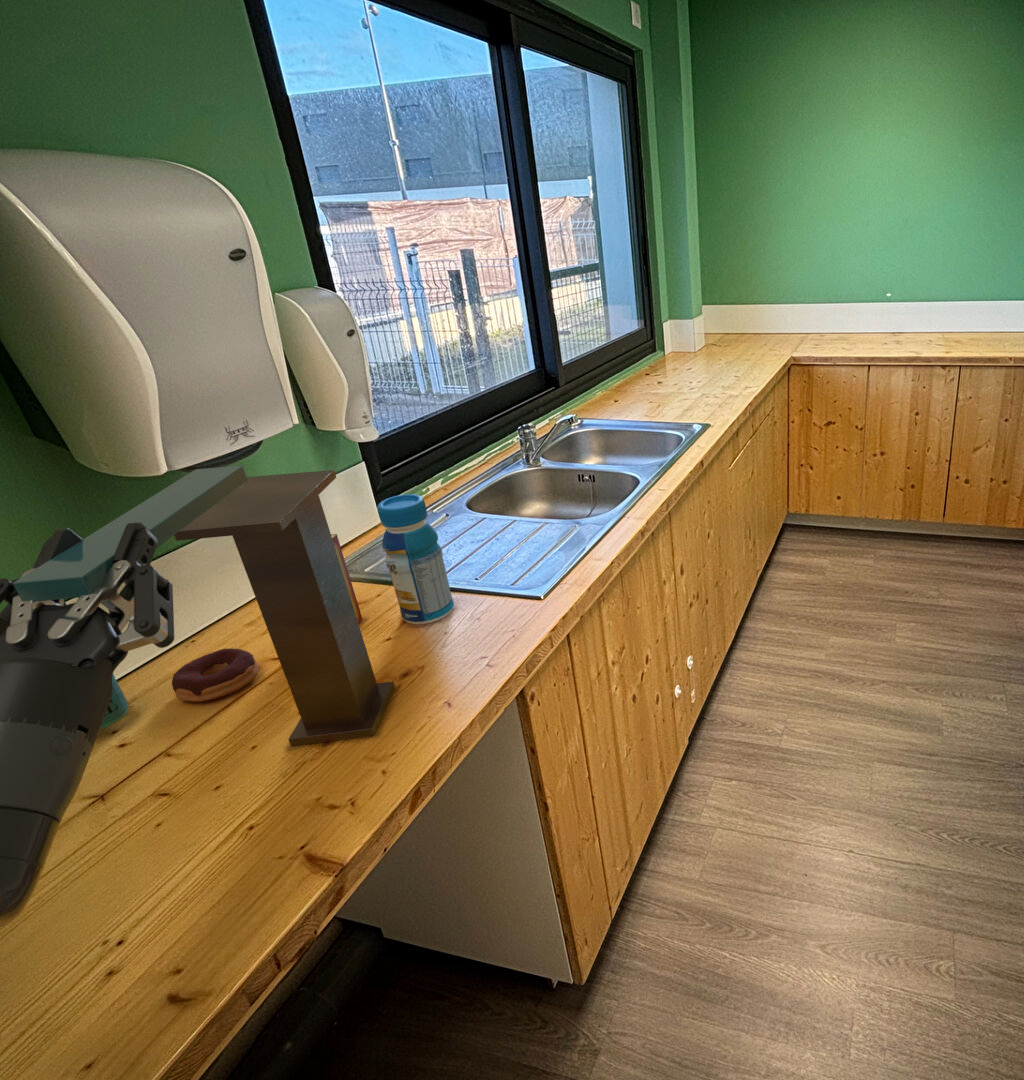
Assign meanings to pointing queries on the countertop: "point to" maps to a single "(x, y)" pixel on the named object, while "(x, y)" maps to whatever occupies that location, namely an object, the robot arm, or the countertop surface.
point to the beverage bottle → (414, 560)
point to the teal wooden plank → (95, 553)
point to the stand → (302, 601)
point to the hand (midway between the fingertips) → (107, 532)
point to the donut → (215, 675)
